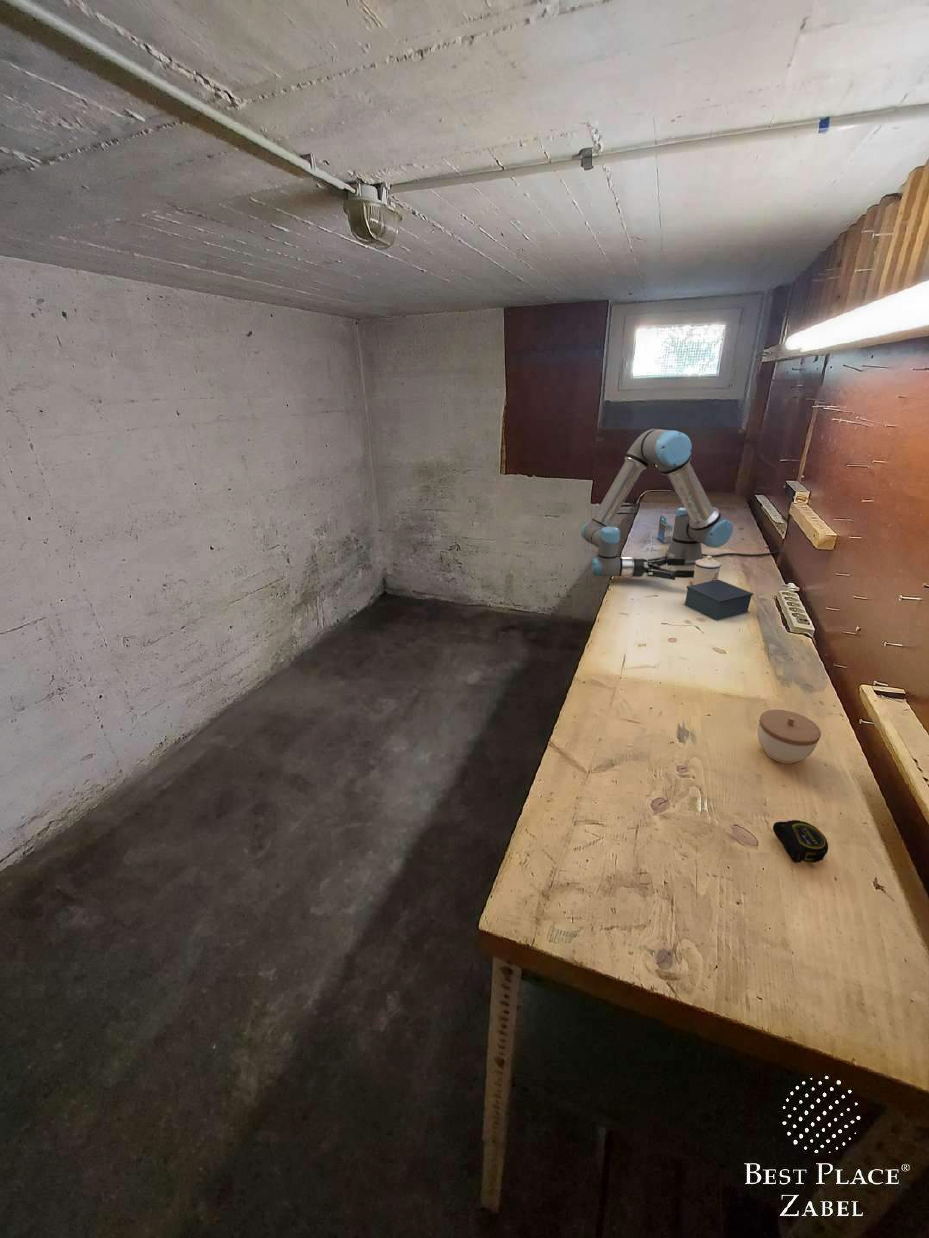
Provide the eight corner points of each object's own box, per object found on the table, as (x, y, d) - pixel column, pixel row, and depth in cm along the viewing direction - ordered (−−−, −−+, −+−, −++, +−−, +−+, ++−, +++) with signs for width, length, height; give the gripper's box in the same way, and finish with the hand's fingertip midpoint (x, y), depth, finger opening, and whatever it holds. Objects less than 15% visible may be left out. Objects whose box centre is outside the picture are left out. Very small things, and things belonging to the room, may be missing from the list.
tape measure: (768, 832, 86) (773, 816, 84) (809, 833, 85) (815, 818, 83) (788, 866, 80) (794, 850, 78) (832, 868, 79) (839, 852, 77)
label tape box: (671, 542, 237) (674, 518, 232) (662, 543, 237) (666, 518, 232) (664, 537, 245) (668, 513, 239) (656, 538, 245) (659, 514, 240)
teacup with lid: (715, 590, 182) (721, 561, 177) (689, 586, 187) (694, 558, 181) (718, 580, 191) (724, 552, 186) (694, 576, 196) (698, 549, 191)
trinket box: (741, 739, 108) (750, 705, 104) (787, 735, 108) (798, 700, 104) (773, 773, 98) (784, 737, 94) (823, 769, 99) (836, 732, 95)
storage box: (714, 597, 177) (718, 579, 174) (749, 612, 165) (753, 593, 162) (683, 604, 172) (686, 586, 169) (716, 620, 160) (720, 601, 157)
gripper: (626, 565, 203) (680, 566, 200) (636, 587, 181) (696, 589, 178) (628, 548, 200) (682, 548, 197) (638, 569, 178) (699, 569, 174)
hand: (689, 567), depth 187 cm, fingers open, 13 cm apart
